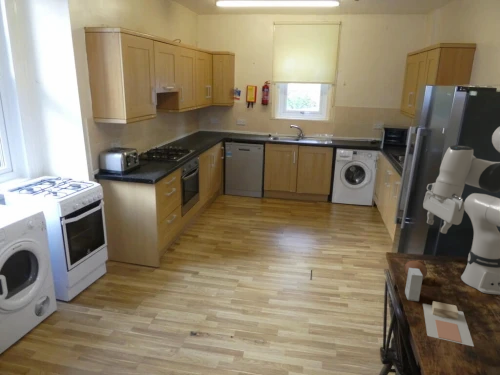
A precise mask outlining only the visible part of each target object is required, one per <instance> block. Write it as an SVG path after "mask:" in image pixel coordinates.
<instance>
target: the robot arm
mask: <svg viewBox="0 0 500 375" xmlns="http://www.w3.org/2000/svg"><path fill="white" fill-rule="evenodd" d="M491 143H492V145H493V148H494V149H495V150H496V151H497V152H498V153H500V126H498V127H497V128H496V129H495V130H494V132H493V133H492V135H491ZM466 185H468V186H471V187H474V188H479V189H482V190H484V191H487V192H489V193H493V194H495V193H496V194H497V193H498V192H500V161H490V160H487V159H482V158H477V157H476V156H475V155H474V148H473V147H470V146H468V145H459V144H458V145H456V144H455V145H450V146H449V147H448V148H447V149H446V151H445V153H444V155H443V158H442V160H441V164H440V167H439V174H438V176H437V177H436V179H435V182H433V183H428V184H427V186H426V190H427V191H426V192H425V196H424V199H423V203H422V207H423V209H424V210H426V211H427V214H426V216H427V220H426V223H427V224H429V225H431V226H432V225H434V222H435V220H434V216H436V217H438V218H440V219H441V220H443V225H442V226H440V228H439V232H440V233H441V234H445V235H446V234H447V233H448V230H449V229H450V228H451V227H452V225H456V226H458V225H459V226H460V224H461V223H462V221H463V217H464V214H465V213H466V214H467V215H468V217H469V219H470V221H471V225H472V229H473V237H472V238H473V239H472V244H471V248H470V249H469V253H468V257H467V265H466V267H465V269H464V271H463V273H462V274H461V276H460V279H461V281H463V283H464V284H466V285H467V286H470V287H471V288H474V289H476V290H478V291H480V292H481V293H484V294H490V295H499V296H500V231H499V228H500V198H499V197H496V196H493V195H489V194H486V193H477V192H474V193H473V192H472V193H471V194H469V195H467V197H466V198H465V200H464V197H462V194H463V192H464V189H465V186H466ZM498 227H499V228H498Z"/></svg>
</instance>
